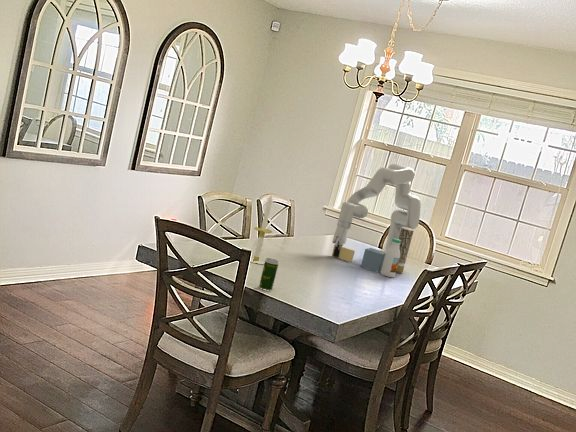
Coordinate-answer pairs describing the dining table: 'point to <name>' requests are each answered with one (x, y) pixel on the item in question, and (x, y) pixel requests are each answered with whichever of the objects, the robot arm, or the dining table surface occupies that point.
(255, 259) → the toy sword
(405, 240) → the paper tube
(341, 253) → the tall yellow upright plank
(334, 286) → the dining table surface
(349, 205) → the robot arm
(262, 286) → the beer can
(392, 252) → the milk bottle
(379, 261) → the dispenser
